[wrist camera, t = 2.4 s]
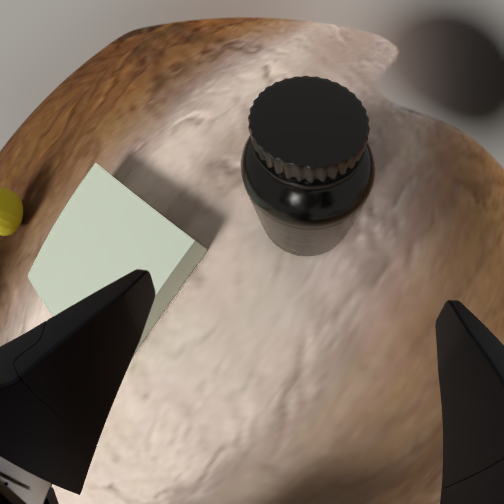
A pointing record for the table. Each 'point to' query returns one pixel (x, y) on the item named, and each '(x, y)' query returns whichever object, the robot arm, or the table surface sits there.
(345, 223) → the supplement bottle
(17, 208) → the lemon
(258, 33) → the table surface
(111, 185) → the plinth
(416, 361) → the table surface
